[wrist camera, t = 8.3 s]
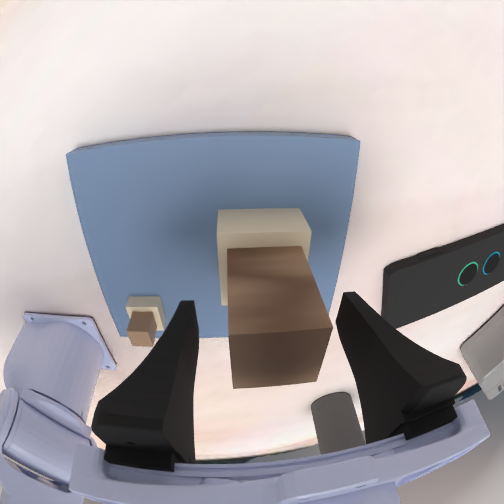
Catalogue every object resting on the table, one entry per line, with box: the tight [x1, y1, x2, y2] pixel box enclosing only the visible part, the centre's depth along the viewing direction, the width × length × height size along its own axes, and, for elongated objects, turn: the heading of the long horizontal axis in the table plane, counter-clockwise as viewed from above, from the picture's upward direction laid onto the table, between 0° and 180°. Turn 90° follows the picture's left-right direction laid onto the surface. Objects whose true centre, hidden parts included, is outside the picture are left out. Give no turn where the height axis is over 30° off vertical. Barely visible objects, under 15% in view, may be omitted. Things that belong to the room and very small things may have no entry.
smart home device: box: [381, 224, 504, 329], centre depth 24 cm, size 8×2×20 cm
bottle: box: [311, 392, 365, 455], centre depth 29 cm, size 6×6×15 cm
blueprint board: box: [66, 132, 360, 347], centre depth 19 cm, size 18×16×5 cm
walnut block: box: [227, 246, 333, 389], centre depth 14 cm, size 4×4×6 cm
